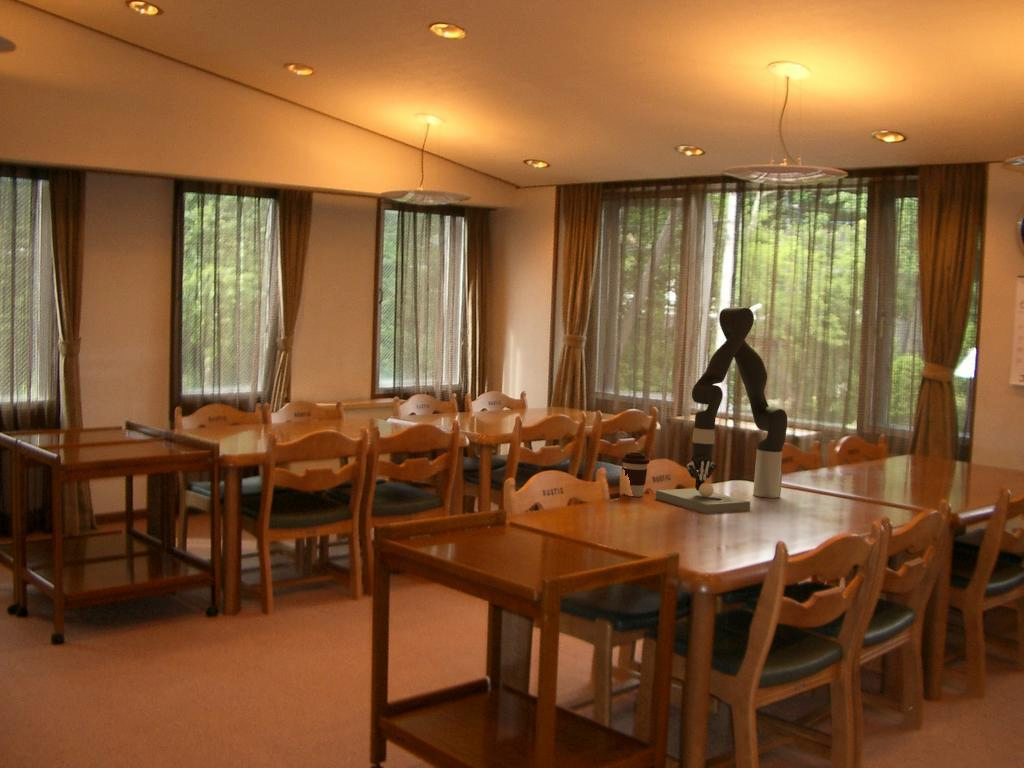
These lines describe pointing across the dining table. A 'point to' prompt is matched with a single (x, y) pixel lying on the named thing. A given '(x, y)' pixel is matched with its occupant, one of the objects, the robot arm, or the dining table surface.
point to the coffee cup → (636, 471)
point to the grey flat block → (702, 501)
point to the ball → (706, 489)
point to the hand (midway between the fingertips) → (699, 490)
